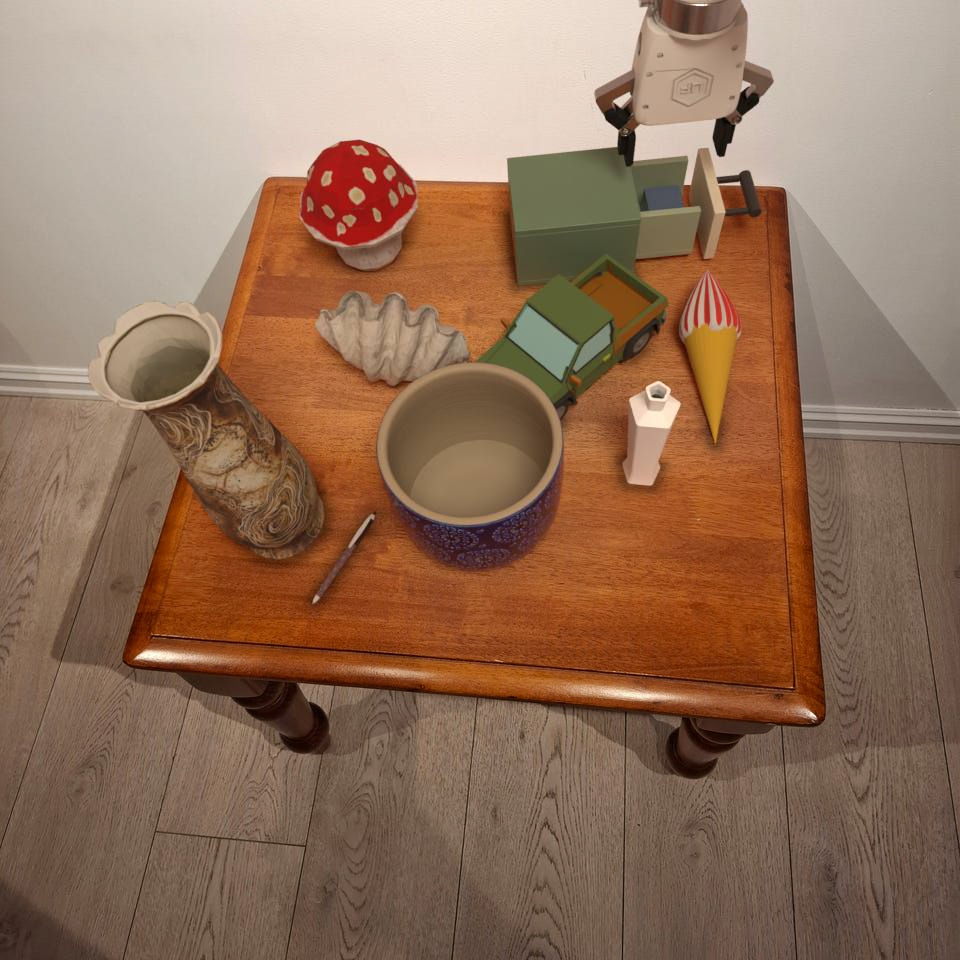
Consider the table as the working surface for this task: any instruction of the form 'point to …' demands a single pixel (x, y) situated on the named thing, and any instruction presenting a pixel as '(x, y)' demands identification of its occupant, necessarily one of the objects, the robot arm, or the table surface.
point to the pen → (344, 557)
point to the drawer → (679, 225)
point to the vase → (210, 427)
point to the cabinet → (571, 213)
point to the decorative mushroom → (358, 203)
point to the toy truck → (579, 330)
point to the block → (662, 198)
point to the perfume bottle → (648, 432)
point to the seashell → (391, 337)
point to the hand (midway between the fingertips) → (672, 152)
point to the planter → (473, 464)
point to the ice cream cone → (710, 343)
